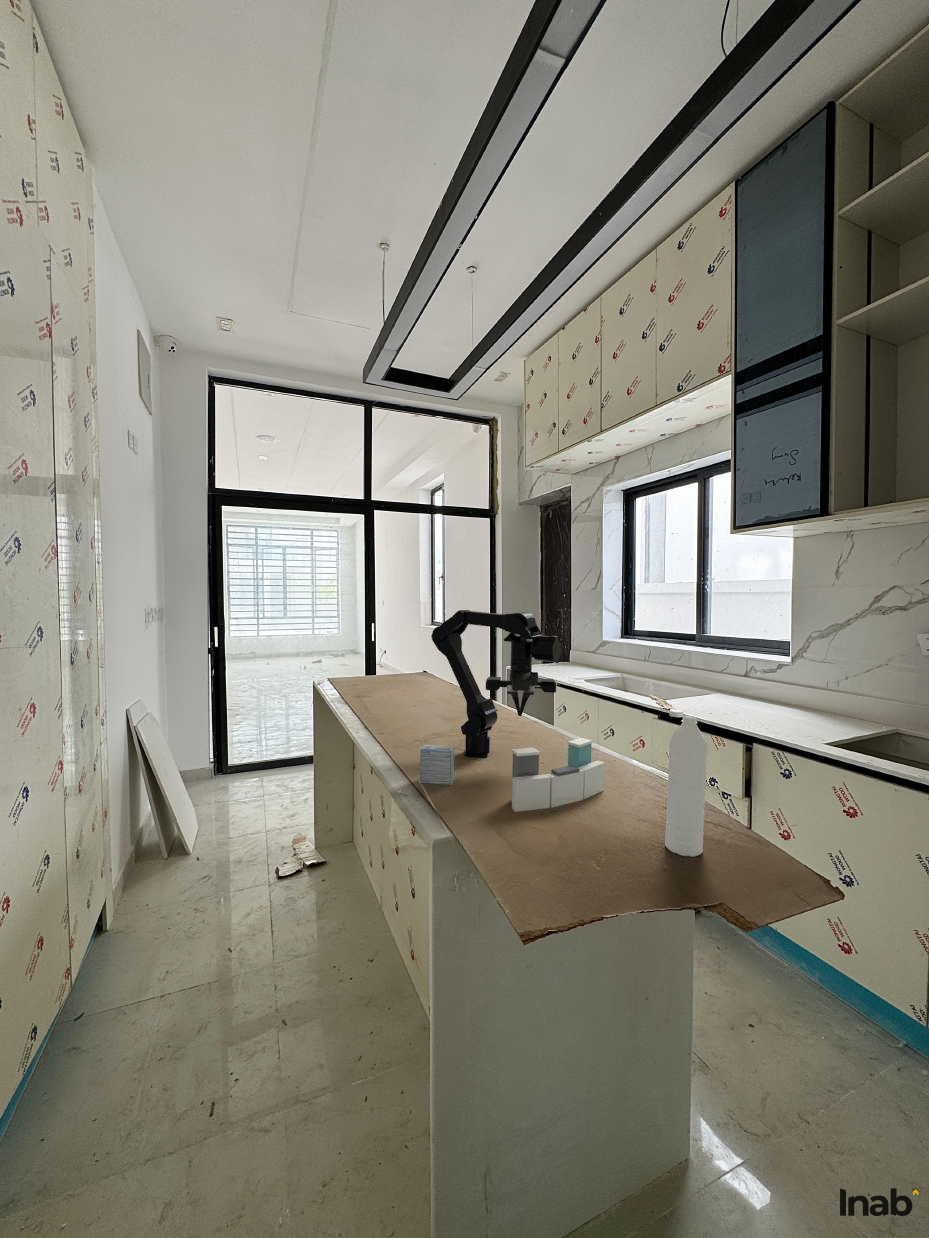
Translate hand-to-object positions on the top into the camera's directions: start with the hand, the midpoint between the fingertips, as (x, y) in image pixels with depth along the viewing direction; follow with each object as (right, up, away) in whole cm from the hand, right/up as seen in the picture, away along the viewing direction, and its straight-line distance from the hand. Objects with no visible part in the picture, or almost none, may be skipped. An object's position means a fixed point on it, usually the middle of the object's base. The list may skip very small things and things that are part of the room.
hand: (519, 715), depth 143 cm
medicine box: (-22, -14, -14) cm, 29 cm away
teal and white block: (+12, -14, -18) cm, 26 cm away
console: (+7, -15, -24) cm, 29 cm away
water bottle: (+26, -17, -44) cm, 53 cm away
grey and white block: (-2, -14, -26) cm, 29 cm away
